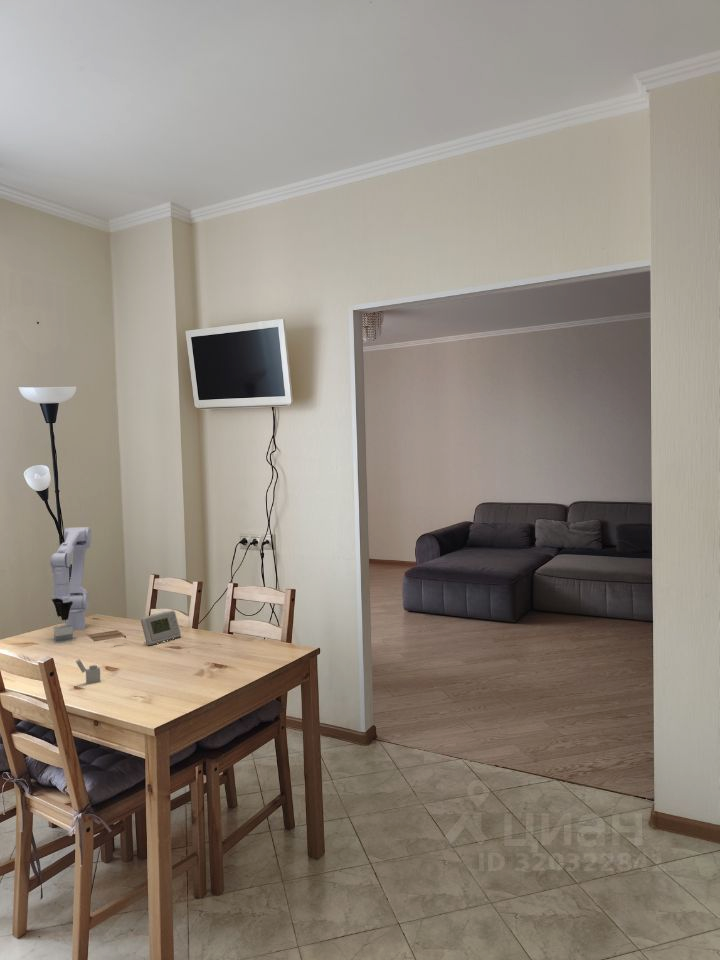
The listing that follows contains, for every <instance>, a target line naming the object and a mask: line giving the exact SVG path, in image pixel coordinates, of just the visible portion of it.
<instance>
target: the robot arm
mask: <svg viewBox="0 0 720 960" xmlns="http://www.w3.org/2000/svg"><path fill="white" fill-rule="evenodd" d="M63 539H64V542H62V543H61V544H60V545H59V547H58V549H56V552H55V553H53V554H51V556H50V562H49V563H50V567H51V573H52V581H53V583H52V584H53V595H52V594H51V595H50V599H51V601H52V603H53V605H54V608H55V610H56V611H55V612H56V616H57V617H58V618H59V617H60V619H61V620H62V621H65V625H71V626H72V631H73V632H76V631H82V630H85V629H86V610H87V609H88V608H89V606H90V598H89V595H90V594H89V592H88V590H87V589H86V588H84V587H83V583H84V573H85V560H86V559H85V558H86V552H87V550H88V549H89V548H91V543H92V530H91V528H90V527H89V526H83V527H82V526H80V527H66V528H65V529H64V532H63ZM71 562H72V563H71ZM70 567H71V571H70ZM70 573H71V575H70Z"/></svg>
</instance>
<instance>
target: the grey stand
mask: <svg viewBox="0 0 720 960" xmlns="http://www.w3.org/2000/svg"><path fill="white" fill-rule="evenodd" d="M50 641H52V642H53V643H54V644H60V643H61V644H62V643H65V642H72V641H77V638H76V637H74V636H73V639H71V640H65V641H58V642H56V641H55V640H54V638H50Z"/></svg>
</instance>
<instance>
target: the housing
mask: <svg viewBox="0 0 720 960" xmlns="http://www.w3.org/2000/svg"><path fill="white" fill-rule="evenodd" d="M73 632H74V631H72V626H71V625H66V624H65V625H59V626H54V627H53V639H54V640H55V641H56V642H58V641H65V640H71V639H73V637H74V635H73Z"/></svg>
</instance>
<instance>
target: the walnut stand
mask: <svg viewBox="0 0 720 960" xmlns="http://www.w3.org/2000/svg"><path fill="white" fill-rule="evenodd" d="M87 637H89V638H90V639H91V640H92V641H93V642H100V641H106V640H110V639H111V640H112V639H118V638H125V639H127V635H125V634H124V633H122V632H121V631H119V630H110V631H104V632H98V633H97V632H96V633H91V634H87Z"/></svg>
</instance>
